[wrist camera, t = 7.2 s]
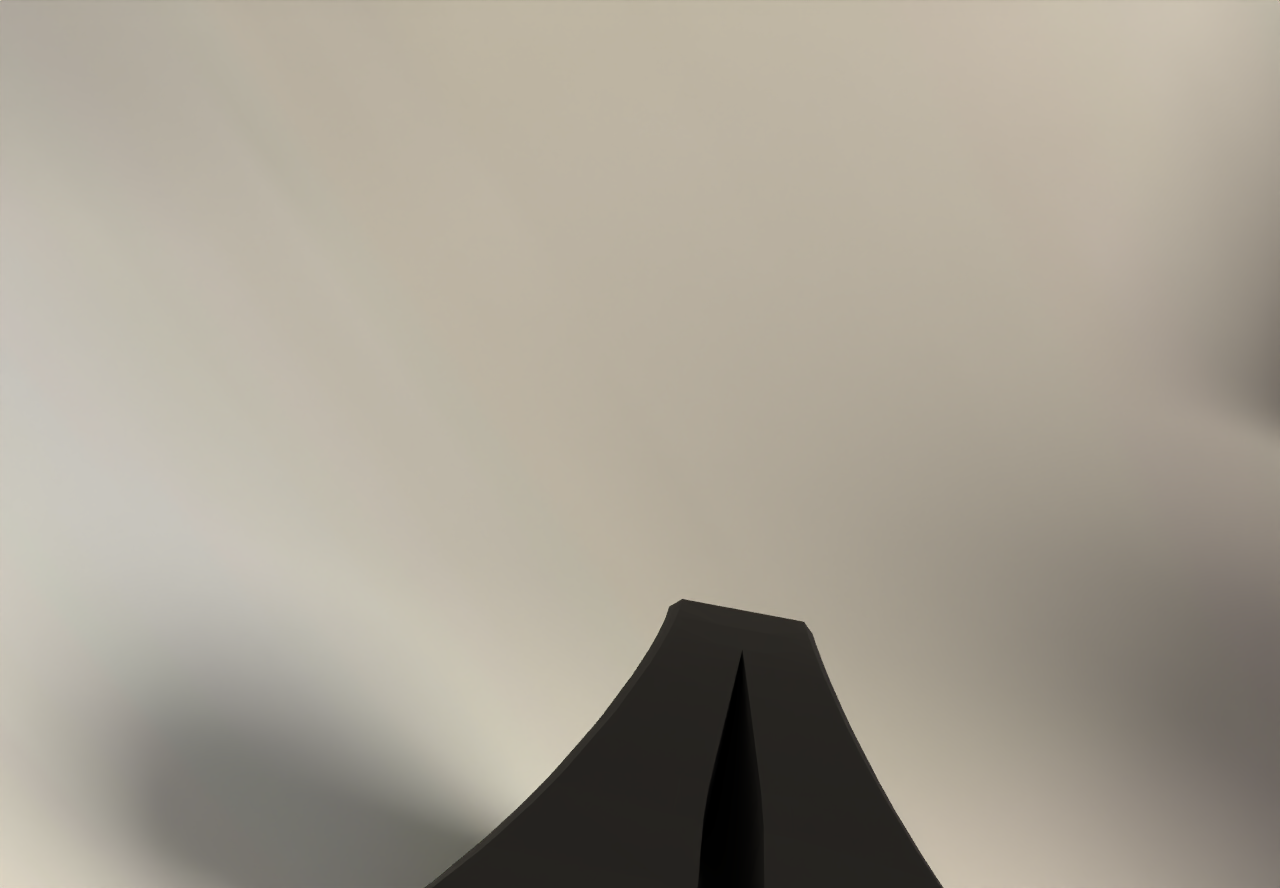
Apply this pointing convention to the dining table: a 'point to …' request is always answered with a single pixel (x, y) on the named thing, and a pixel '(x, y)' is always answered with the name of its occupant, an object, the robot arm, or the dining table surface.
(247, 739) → the dining table surface
